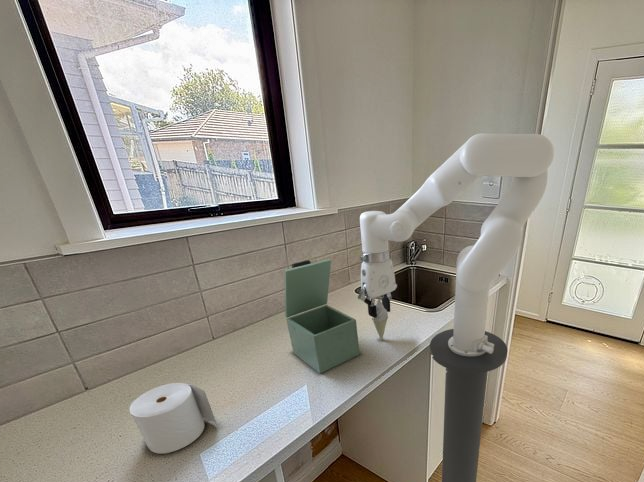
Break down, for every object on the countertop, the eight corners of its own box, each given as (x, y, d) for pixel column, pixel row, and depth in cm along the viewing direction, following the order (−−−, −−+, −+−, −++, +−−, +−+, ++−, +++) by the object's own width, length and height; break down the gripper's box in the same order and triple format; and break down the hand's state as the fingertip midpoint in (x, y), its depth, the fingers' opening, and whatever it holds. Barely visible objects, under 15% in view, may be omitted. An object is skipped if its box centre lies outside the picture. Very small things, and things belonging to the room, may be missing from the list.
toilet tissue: (141, 437, 73) (122, 401, 68) (200, 407, 81) (187, 373, 76) (157, 463, 66) (137, 425, 62) (219, 428, 74) (206, 392, 70)
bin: (359, 354, 101) (356, 319, 96) (320, 373, 92) (313, 336, 87) (331, 336, 111) (326, 304, 106) (293, 352, 102) (286, 318, 97)
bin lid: (331, 260, 95) (321, 251, 97) (285, 271, 86) (276, 261, 88) (327, 304, 105) (318, 294, 107) (286, 317, 97) (277, 307, 99)
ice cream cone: (389, 343, 106) (386, 300, 99) (373, 344, 106) (369, 301, 99) (389, 335, 111) (386, 294, 104) (373, 336, 110) (370, 294, 104)
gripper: (360, 265, 88) (365, 326, 96) (406, 252, 99) (407, 308, 107) (343, 260, 93) (350, 318, 101) (389, 248, 104) (392, 302, 112)
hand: (379, 312), depth 104 cm, fingers closed on ice cream cone, 4 cm apart
